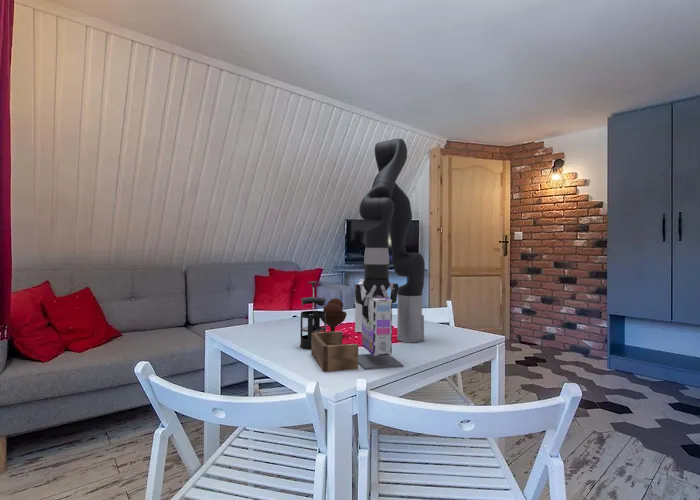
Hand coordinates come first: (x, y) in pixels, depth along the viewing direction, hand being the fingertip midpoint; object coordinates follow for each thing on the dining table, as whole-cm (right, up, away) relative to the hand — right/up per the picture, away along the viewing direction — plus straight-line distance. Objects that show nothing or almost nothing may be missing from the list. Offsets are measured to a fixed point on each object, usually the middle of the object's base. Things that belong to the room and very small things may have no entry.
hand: (376, 317), depth 121 cm
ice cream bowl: (-15, -14, +34) cm, 40 cm away
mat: (0, -14, 0) cm, 14 cm away
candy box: (0, -10, 0) cm, 10 cm away
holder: (-13, -14, 0) cm, 19 cm away
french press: (-21, -14, +19) cm, 31 cm away
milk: (-2, -14, +43) cm, 45 cm away
